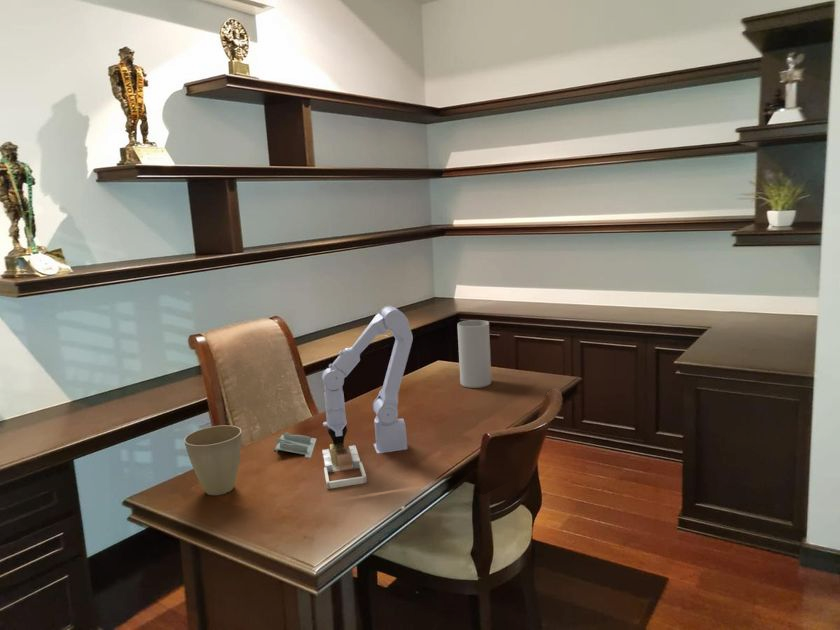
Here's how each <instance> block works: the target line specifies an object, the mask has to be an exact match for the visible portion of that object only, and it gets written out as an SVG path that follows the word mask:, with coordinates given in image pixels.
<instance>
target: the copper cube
mask: <svg viewBox="0 0 840 630" xmlns="http://www.w3.org/2000/svg"><path fill="white" fill-rule="evenodd" d="M336 457H337V465H338V469H339V468H346V467H352V458H351V451H350V448H349V447H348V448H344V449H341V450H336Z"/></svg>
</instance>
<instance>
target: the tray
mask: <svg viewBox="0 0 840 630" xmlns="http://www.w3.org/2000/svg"><path fill="white" fill-rule="evenodd" d="M358 469H359V471H360V474H361V476H356V477H350V478H344V479H343V478H342V479H337V480H336V479H335V480H331V481H330V478H329V472H327V467H325V466H324V467H323V473H324V478H325V484H326V489H327V490H329V489H335V488H336V489H337V488H342V487H348V486H349V487H350V486H354V485H362V484H367V483H368V480H367V479H368V478H367V477H368V476H367V474H366V471H365V468H364V465H363V462H362V461H360V462H359V468H358Z"/></svg>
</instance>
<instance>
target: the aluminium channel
mask: <svg viewBox="0 0 840 630" xmlns="http://www.w3.org/2000/svg"><path fill="white" fill-rule="evenodd" d="M348 448H350V451H351V458H352V467H346V468H339V469H338V465H337V462H332V460H331V453H330V448H327V449H322V451H321V452H322V459H323V464H324V467H327V472H328V473H332V472H333V473H334V472H341V471H346V470H347V471H348V470H353V469H360V468H359V462H361V458H360V455H359V453H358V450H357V447H356V445H354V444H353V445H348Z"/></svg>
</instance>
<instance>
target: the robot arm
mask: <svg viewBox="0 0 840 630" xmlns="http://www.w3.org/2000/svg"><path fill="white" fill-rule="evenodd" d="M409 320H410V319H408V318H407V316H406V315H405V314H404V312H402V311H401V310H399V309H398V308H397V307H396V306H394V305H385V306H383V307H382V308H381V309H380V312H378V313H377V314H375V316H374V317H373V319H372V320H371V321H370V323H369V324H368V325H367V327H365V328H364V330H363V331H362V333H361V334H360V335H359V336H358V338H357V339H356V341H355V342H354V343H353V345H352V346H351V347H345V348H344V349H343V350H342V349H341V350H340V351H339V352H338V356H337V358H336V359H335V360H333V362H332V363H329V364H328V367H327V368H326V369H324V371H323V372H322V375H321V380H322V383H323V385H324V387H323V391H324V393H323V395H324V396H323V397H324V407H325V416H326V418H325V419H326V421H324V422H323V423H322V427H327V432H328V435H329V436H330V438H331V440H332V444H338V443H343V444H344V442H345V437H346V435H347V432H348V428H347V423H348V421H347V416H346V405H345V397H344V396H345V395H344V390H343V386H344V383H345V378H347V377H348V375H350V373H351V372H353V370H354V368H356V366H357V365H358V363H359V362H360V361H361V354H362V352H364V351H365V349H366V348H367V347H368V346H369V345H370V344H371V343H372V342H373V340H375V338H377V336H379V335H385V334H388V333H389V332H388V330H389V331H390V333H391V335H392V336H393V337H394V338H395V340H394V344H393V347H392V350H391V356H390V359H389V362H388V366H387V370H386V373H385V377H384V381H383V385H382V387H381V389H380V390H379V392H378V395H377V397H376V398H375V399H374V400H373V402H372V409H373V412H374V413H375V415H376V416H375V418H374V420H373V423H374V433H375V434H374V436H375V443H373V446H374V449H375V451H376V454H383V453H391V452H396V451H403V450H408V439H407V438H408V437H407V426H406V423H405V420H404V418H398V417H399V412H398V405H399V392H400V389H401V388H400V387H401V384H402V381H403V377H404V373H405V370H406V366H407V362H408V359H409V355H410V353H411V348H412V343H413V339H414V337H413V336H414V335H413V332H412V329H411V326H410V323H409Z"/></svg>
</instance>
